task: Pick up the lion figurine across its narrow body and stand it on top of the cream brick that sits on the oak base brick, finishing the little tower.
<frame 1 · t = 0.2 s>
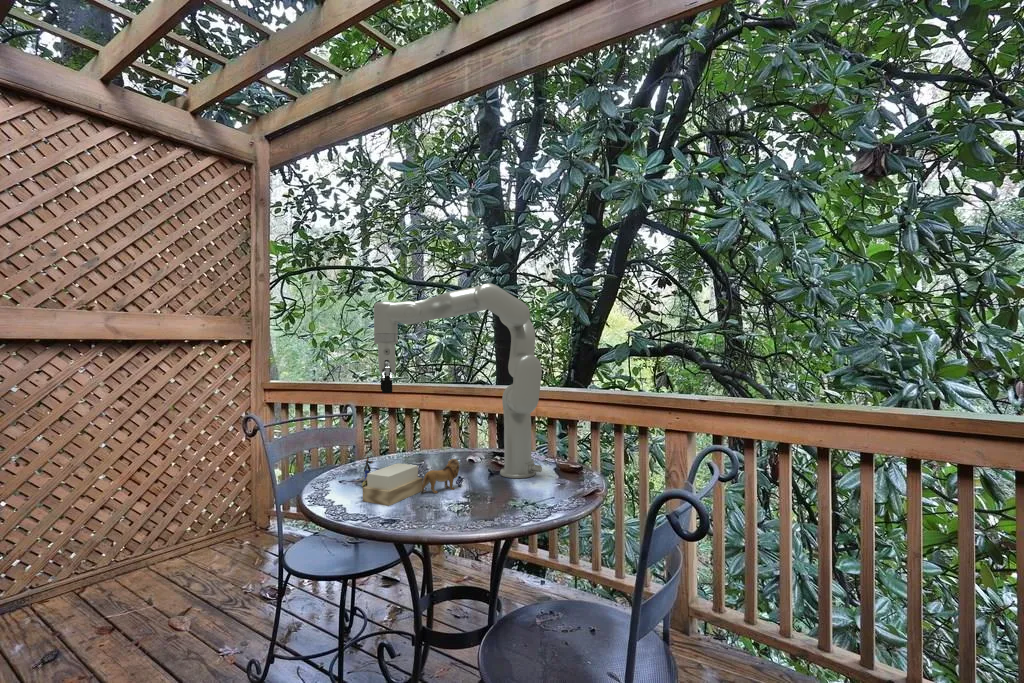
hand: (386, 391, 170), 31 cm above the table, tool pointing down, fingers open, 9 cm apart
oak base brick: (393, 495, 158), on the table
cream brick: (393, 482, 158), point 4 cm above the table, touching oak base brick
figurine: (366, 484, 173), on the table
lion figurine: (441, 490, 164), on the table
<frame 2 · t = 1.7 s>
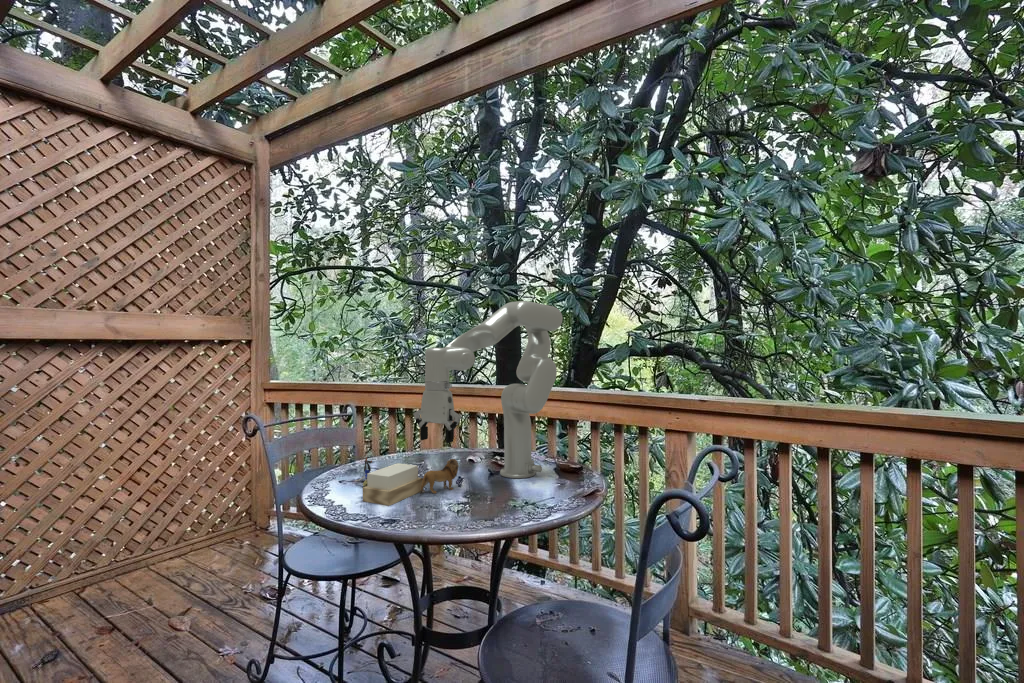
hand: (436, 440, 164), 16 cm above the table, tool pointing down, fingers open, 9 cm apart
nothing on the table moved.
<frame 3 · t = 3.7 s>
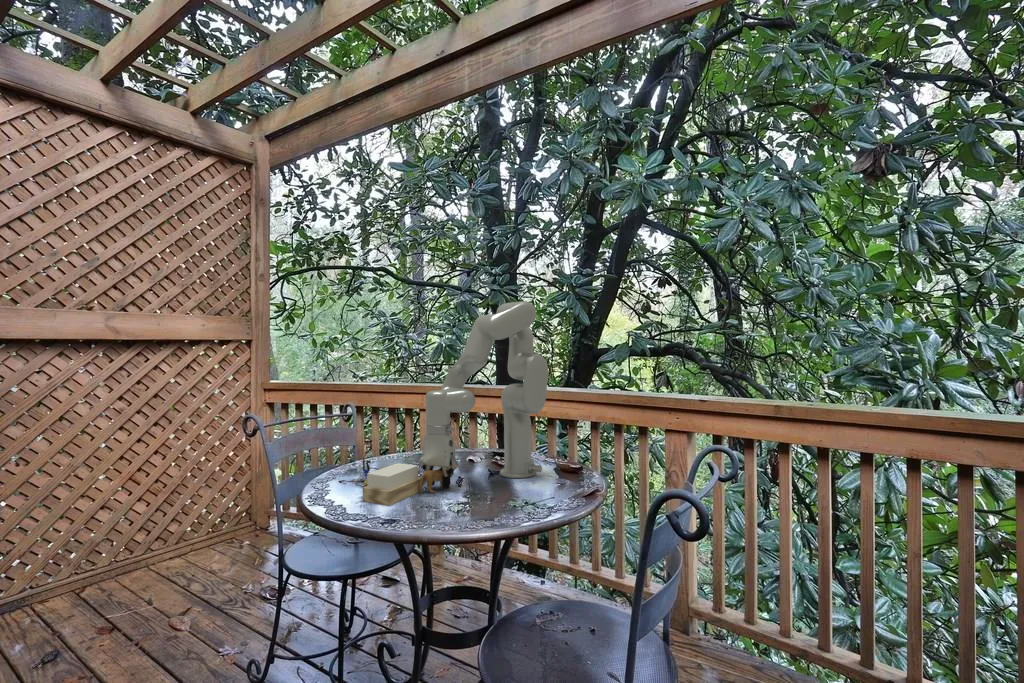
hand: (438, 486, 164), 1 cm above the table, tool pointing down, fingers closed on lion figurine, 5 cm apart
lion figurine: (437, 490, 164), on the table, touching gripper
everything else where it was.
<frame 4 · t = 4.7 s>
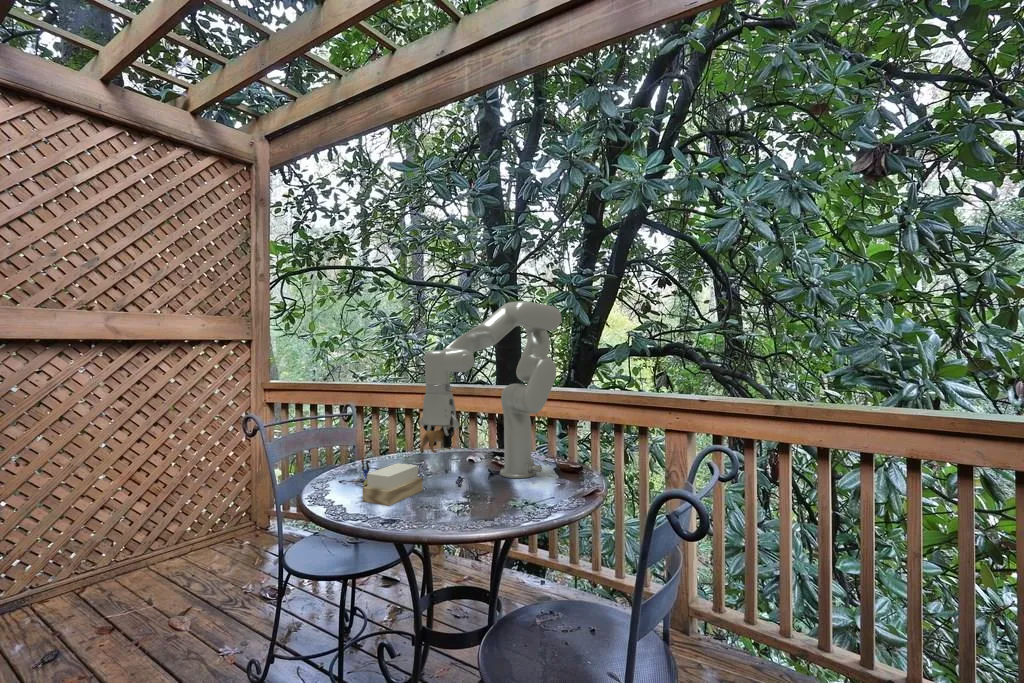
hand: (440, 446, 164), 14 cm above the table, tool pointing down, fingers closed on lion figurine, 4 cm apart
lion figurine: (438, 450, 164), point 12 cm above the table, touching gripper
everything else where it was.
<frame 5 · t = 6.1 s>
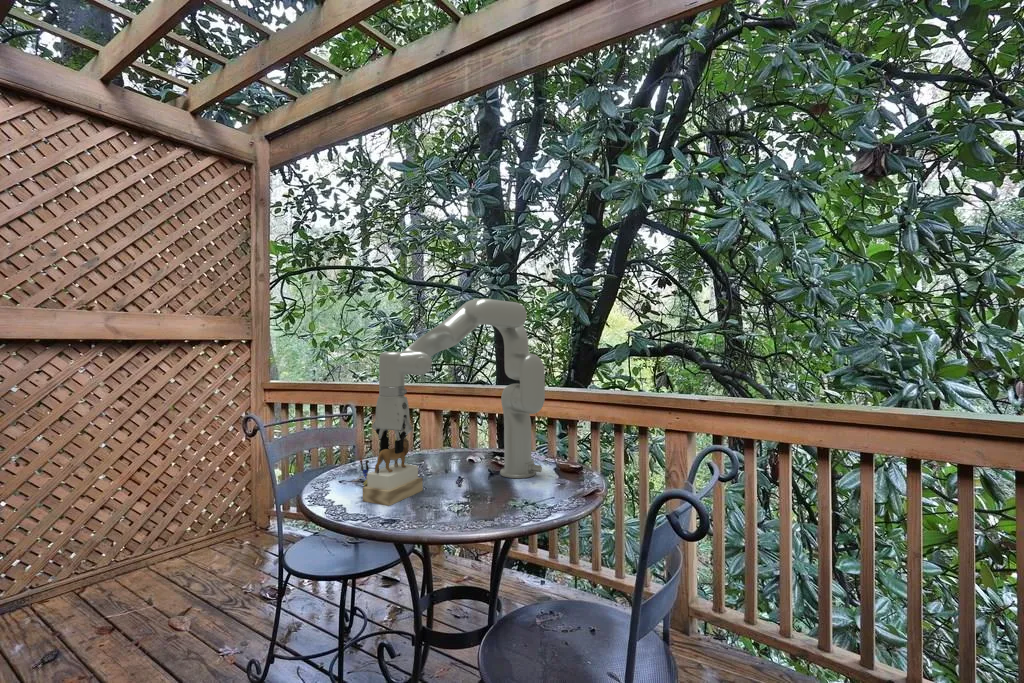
hand: (391, 451, 158), 14 cm above the table, tool pointing down, fingers open, 4 cm apart
cream brick: (393, 482, 158), point 4 cm above the table, touching lion figurine, oak base brick
lion figurine: (392, 469, 159), point 8 cm above the table, touching cream brick, gripper
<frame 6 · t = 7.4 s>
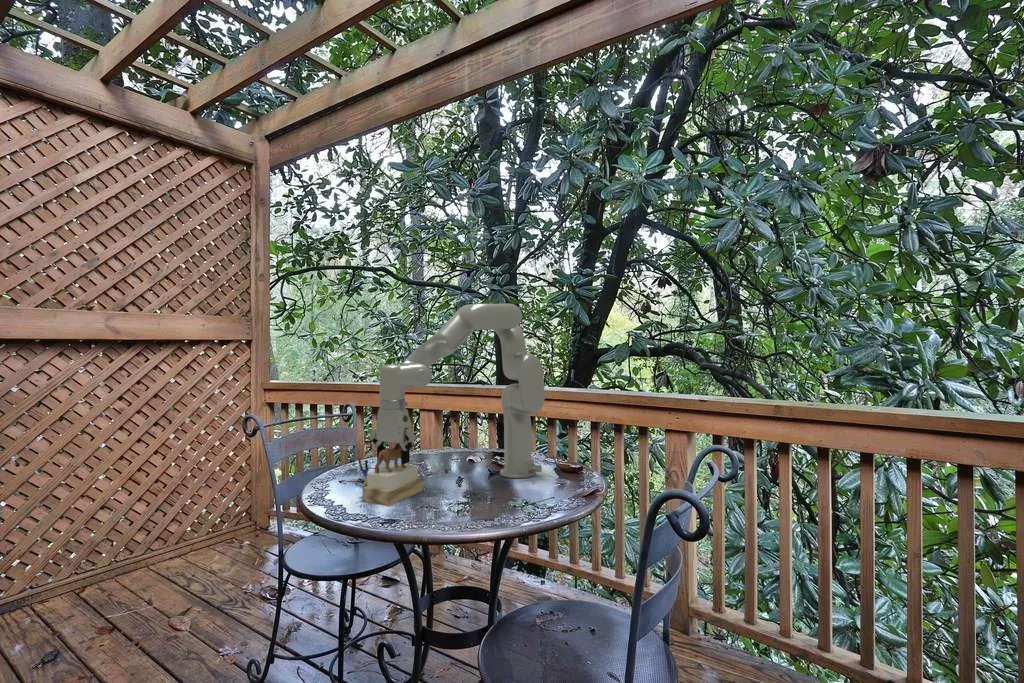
hand: (393, 461, 158), 10 cm above the table, tool pointing down, fingers open, 8 cm apart
lion figurine: (392, 469, 159), point 8 cm above the table, touching cream brick
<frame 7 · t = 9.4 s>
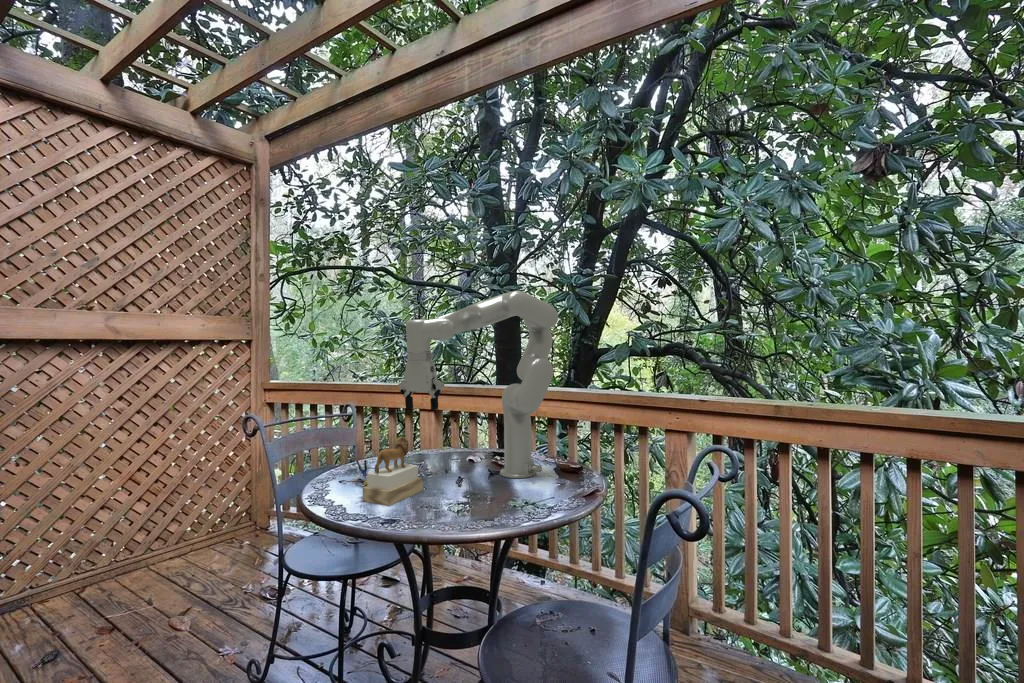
hand: (421, 409, 169), 25 cm above the table, tool pointing down, fingers open, 9 cm apart
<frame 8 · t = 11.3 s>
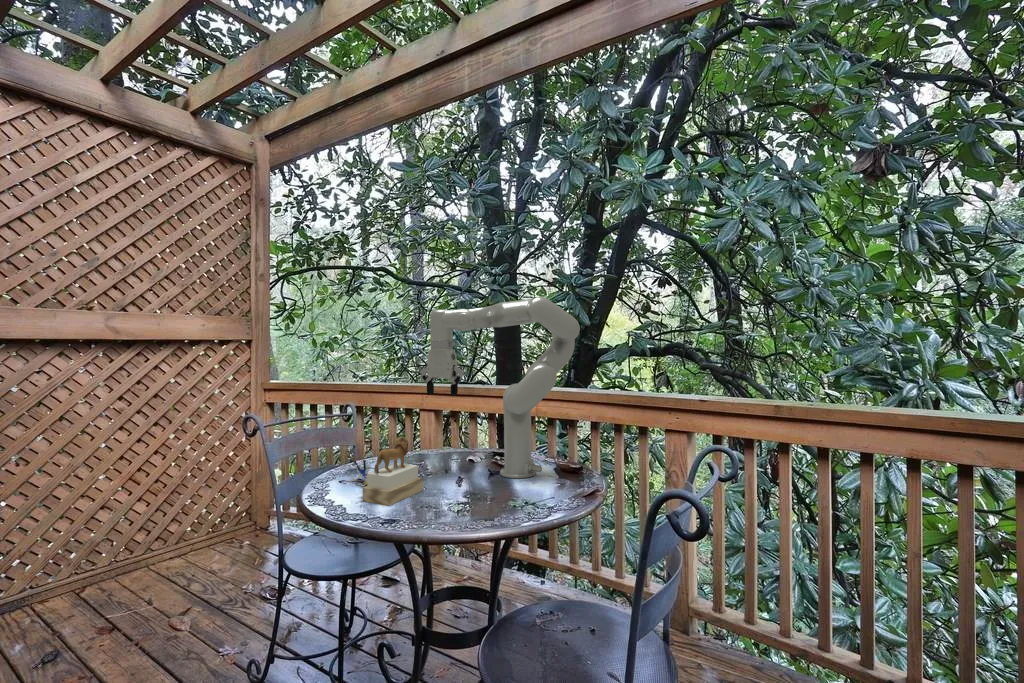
hand: (442, 395, 178), 28 cm above the table, tool pointing down, fingers open, 9 cm apart
at the end: lion figurine inside the target area on the cream brick (0.9 cm from its centre), point 3.8 cm above the cream brick's base; lion figurine tilted 0°; the gripper is holding nothing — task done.
